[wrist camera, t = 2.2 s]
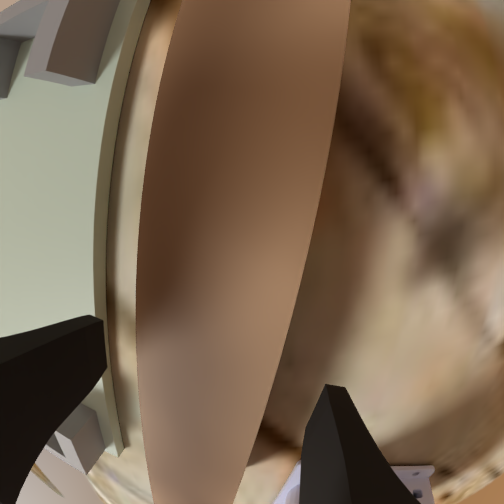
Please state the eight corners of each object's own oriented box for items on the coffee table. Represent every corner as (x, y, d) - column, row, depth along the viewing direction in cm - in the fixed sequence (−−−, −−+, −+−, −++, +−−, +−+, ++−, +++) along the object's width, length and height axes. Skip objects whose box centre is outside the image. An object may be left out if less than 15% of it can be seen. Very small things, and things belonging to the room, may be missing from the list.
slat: (336, 61, 9) (351, -6, 5) (242, 465, 16) (223, 527, 11) (234, 47, 10) (188, -16, 5) (182, 448, 16) (154, 504, 11)
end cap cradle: (152, -6, 9) (106, -46, 5) (124, 448, 17) (99, 484, 14) (19, 33, 11) (-24, 23, 7) (24, 389, 19) (-2, 412, 15)
